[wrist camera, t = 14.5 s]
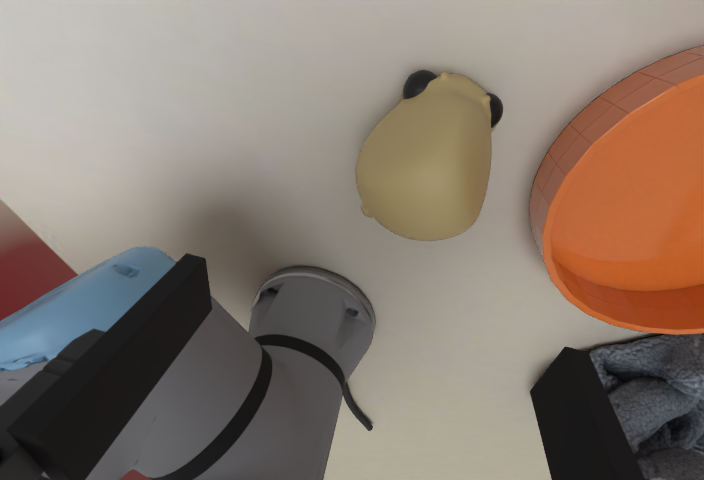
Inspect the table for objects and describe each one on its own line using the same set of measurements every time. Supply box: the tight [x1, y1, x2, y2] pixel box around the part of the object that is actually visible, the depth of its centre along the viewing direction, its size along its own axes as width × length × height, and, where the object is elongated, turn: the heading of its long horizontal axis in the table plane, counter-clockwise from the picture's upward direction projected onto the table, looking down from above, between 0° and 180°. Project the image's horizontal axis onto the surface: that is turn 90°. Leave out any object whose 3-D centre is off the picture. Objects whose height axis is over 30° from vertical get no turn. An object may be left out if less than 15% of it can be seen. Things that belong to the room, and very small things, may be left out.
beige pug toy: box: [356, 70, 503, 241], centre depth 25 cm, size 10×12×11 cm
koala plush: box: [589, 334, 704, 480], centre depth 32 cm, size 17×18×20 cm
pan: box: [529, 45, 704, 335], centre depth 25 cm, size 21×21×5 cm
